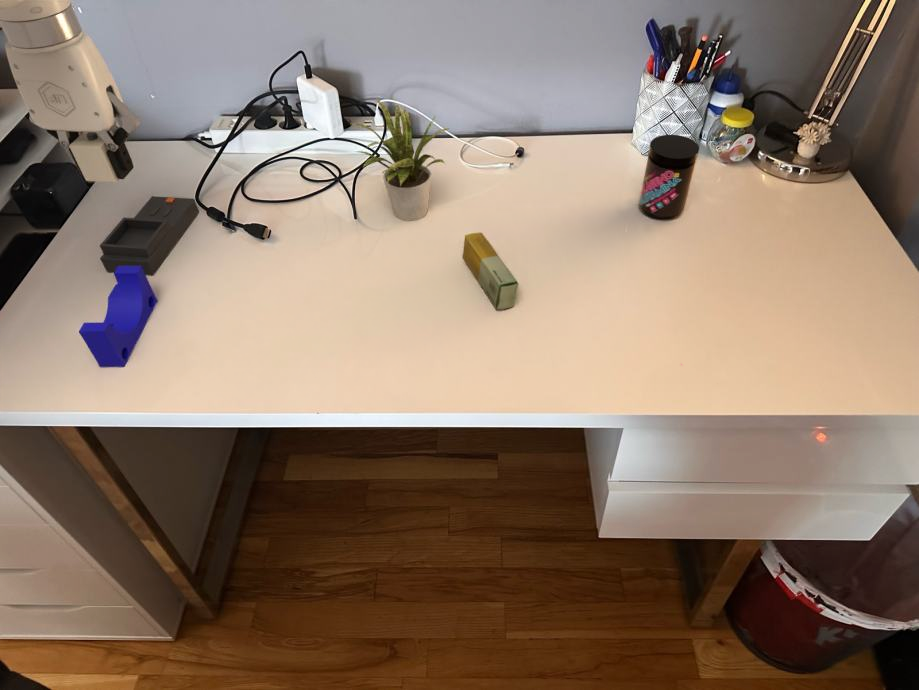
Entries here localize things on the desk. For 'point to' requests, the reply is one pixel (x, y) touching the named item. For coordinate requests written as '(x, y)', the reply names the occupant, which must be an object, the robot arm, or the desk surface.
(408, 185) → the house plant
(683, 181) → the supplement container
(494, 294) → the medication box
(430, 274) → the desk surface
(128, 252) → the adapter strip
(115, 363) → the blue curved cradle bracket
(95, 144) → the block
